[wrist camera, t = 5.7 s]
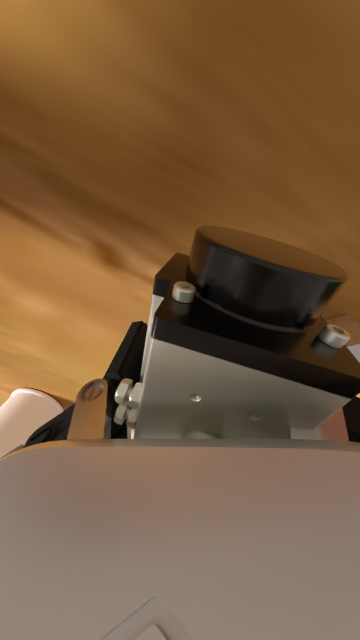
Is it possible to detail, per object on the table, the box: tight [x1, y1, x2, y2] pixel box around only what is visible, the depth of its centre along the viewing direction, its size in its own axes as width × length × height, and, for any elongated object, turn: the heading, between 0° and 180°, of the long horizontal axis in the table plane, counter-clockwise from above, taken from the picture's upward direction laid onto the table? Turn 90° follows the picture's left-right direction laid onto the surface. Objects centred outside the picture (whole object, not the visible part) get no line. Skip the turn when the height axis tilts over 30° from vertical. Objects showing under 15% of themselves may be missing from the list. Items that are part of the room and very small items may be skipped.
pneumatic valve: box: [114, 226, 360, 439], centre depth 10 cm, size 6×12×12 cm, turn 168°
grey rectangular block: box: [325, 314, 360, 363], centre depth 19 cm, size 6×4×4 cm, turn 26°
